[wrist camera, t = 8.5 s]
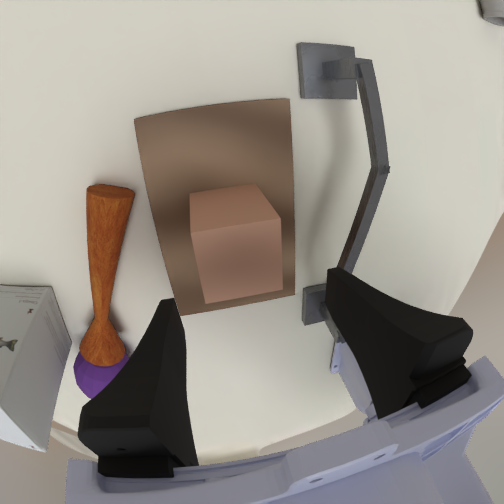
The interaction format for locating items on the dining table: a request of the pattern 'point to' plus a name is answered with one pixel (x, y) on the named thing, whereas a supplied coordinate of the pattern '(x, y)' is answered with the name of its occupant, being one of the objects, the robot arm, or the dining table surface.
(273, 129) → the walnut board
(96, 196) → the kendama
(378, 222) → the dining table surface
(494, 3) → the tube
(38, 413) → the supplement box
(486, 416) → the robot arm
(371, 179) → the grey door handle
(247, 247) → the block
